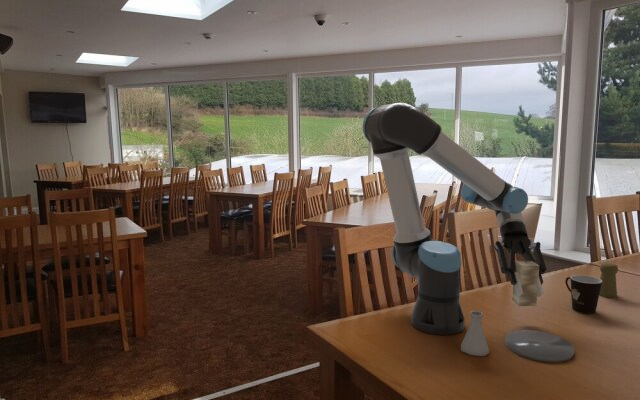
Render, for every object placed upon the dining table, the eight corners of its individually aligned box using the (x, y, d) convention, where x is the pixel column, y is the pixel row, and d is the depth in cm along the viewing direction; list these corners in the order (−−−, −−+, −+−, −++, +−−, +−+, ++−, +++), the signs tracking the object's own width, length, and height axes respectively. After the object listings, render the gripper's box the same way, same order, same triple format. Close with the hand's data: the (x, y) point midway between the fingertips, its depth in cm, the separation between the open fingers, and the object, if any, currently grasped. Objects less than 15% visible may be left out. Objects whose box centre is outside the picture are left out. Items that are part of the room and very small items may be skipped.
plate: (528, 364, 111) (528, 359, 111) (493, 336, 126) (494, 332, 126) (588, 359, 113) (589, 354, 113) (547, 332, 129) (548, 328, 128)
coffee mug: (604, 316, 140) (606, 284, 139) (573, 314, 142) (575, 282, 140) (590, 302, 151) (592, 273, 150) (561, 301, 153) (563, 271, 152)
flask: (486, 359, 113) (488, 320, 112) (456, 352, 117) (458, 314, 116) (492, 348, 119) (494, 311, 118) (464, 341, 123) (465, 305, 122)
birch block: (518, 305, 133) (521, 265, 132) (512, 299, 138) (514, 260, 136) (536, 306, 133) (539, 265, 131) (529, 300, 138) (531, 261, 136)
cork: (617, 293, 160) (619, 262, 158) (617, 299, 155) (619, 267, 153) (596, 290, 163) (599, 260, 161) (596, 295, 158) (598, 264, 156)
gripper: (536, 233, 148) (557, 301, 134) (479, 232, 149) (494, 299, 135) (545, 220, 142) (568, 289, 128) (486, 219, 143) (502, 288, 129)
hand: (530, 294), depth 131 cm, fingers closed on birch block, 5 cm apart
